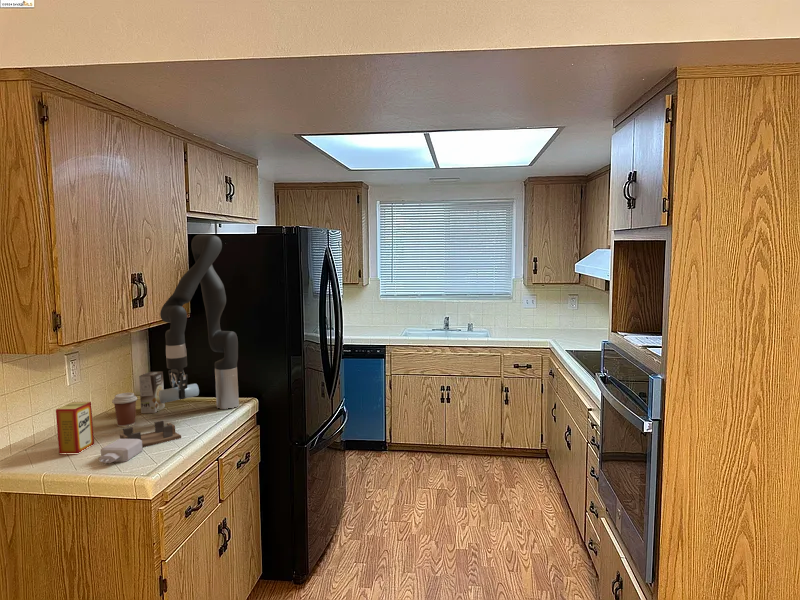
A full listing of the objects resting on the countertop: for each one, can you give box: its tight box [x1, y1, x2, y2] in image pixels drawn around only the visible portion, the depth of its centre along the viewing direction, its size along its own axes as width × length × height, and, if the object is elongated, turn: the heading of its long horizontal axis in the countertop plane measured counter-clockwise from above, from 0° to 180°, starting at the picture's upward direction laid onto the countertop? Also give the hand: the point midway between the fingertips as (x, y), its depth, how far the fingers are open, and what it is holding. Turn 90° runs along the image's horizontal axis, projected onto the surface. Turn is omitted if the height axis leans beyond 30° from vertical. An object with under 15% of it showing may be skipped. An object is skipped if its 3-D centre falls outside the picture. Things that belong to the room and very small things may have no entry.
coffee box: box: [138, 371, 166, 414], centre depth 246 cm, size 9×6×16 cm
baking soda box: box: [55, 401, 95, 454], centre depth 198 cm, size 10×6×16 cm
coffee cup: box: [111, 392, 138, 427], centre depth 227 cm, size 9×9×12 cm
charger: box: [98, 438, 143, 464], centre depth 188 cm, size 5×9×15 cm
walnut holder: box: [114, 419, 182, 448], centre depth 206 cm, size 12×19×5 cm, turn 133°
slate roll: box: [159, 383, 200, 404], centre depth 227 cm, size 14×5×5 cm, turn 132°
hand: (179, 397), depth 227 cm, fingers closed on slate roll, 5 cm apart
